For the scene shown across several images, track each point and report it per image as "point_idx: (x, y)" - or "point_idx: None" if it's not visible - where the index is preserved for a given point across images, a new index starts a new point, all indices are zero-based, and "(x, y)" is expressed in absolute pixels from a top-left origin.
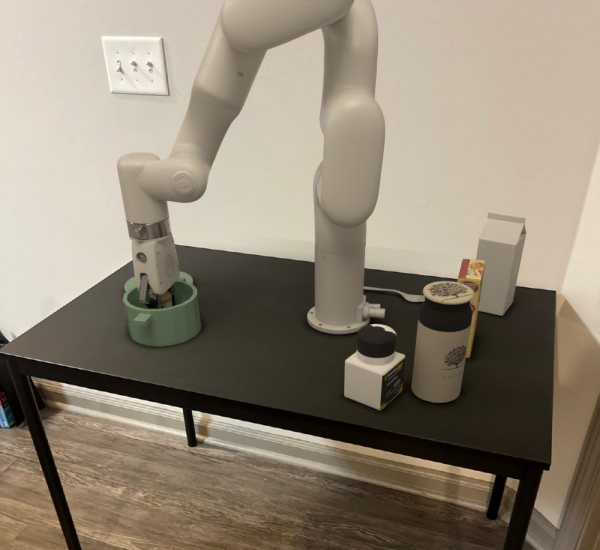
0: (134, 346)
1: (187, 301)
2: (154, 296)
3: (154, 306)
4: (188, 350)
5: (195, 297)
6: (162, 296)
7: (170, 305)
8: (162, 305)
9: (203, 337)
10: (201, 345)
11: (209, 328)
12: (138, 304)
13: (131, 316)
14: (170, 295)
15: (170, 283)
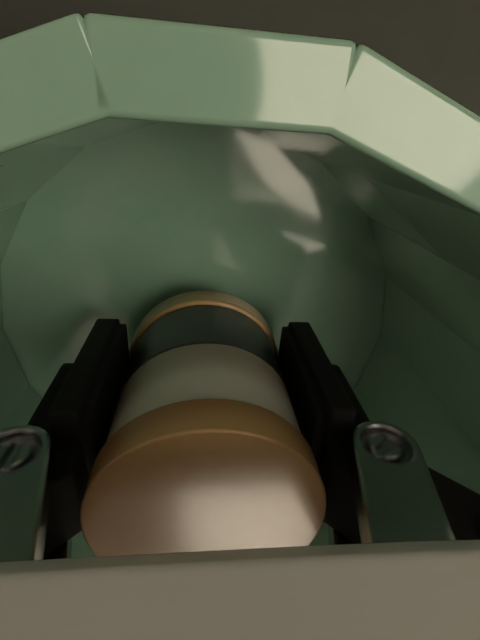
0: None
1: (419, 130)
2: (242, 547)
3: (440, 475)
4: (463, 91)
5: (196, 24)
6: (229, 494)
7: (225, 369)
8: (295, 426)
9: (282, 24)
10: (404, 2)
11: (131, 13)
12: None
13: None
14: (189, 437)
15: (290, 633)
